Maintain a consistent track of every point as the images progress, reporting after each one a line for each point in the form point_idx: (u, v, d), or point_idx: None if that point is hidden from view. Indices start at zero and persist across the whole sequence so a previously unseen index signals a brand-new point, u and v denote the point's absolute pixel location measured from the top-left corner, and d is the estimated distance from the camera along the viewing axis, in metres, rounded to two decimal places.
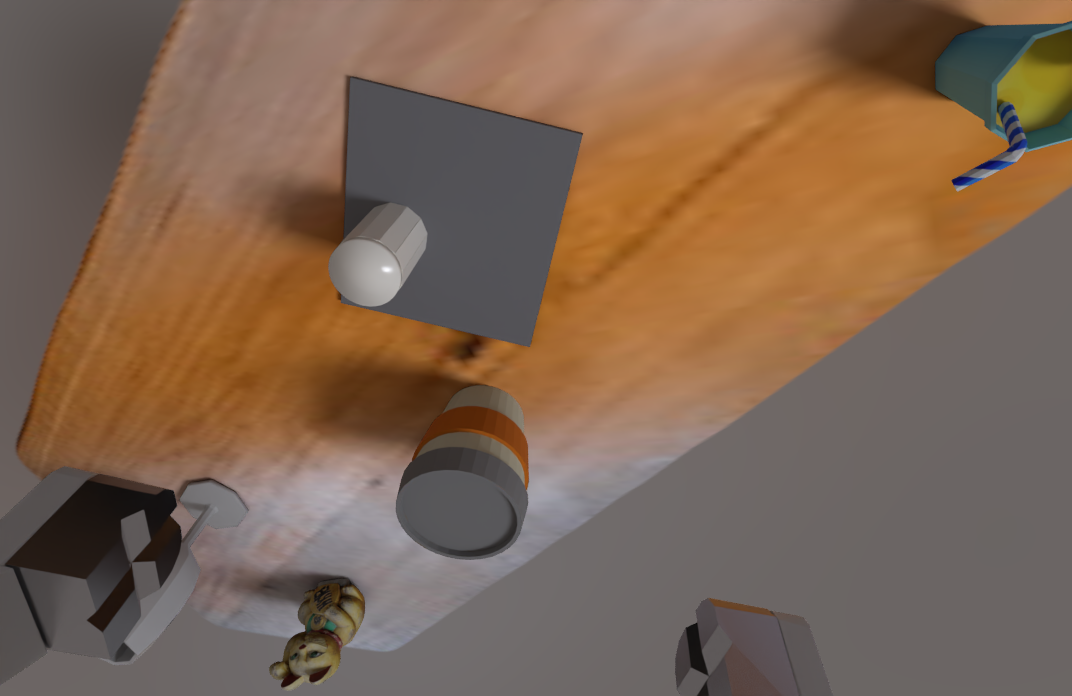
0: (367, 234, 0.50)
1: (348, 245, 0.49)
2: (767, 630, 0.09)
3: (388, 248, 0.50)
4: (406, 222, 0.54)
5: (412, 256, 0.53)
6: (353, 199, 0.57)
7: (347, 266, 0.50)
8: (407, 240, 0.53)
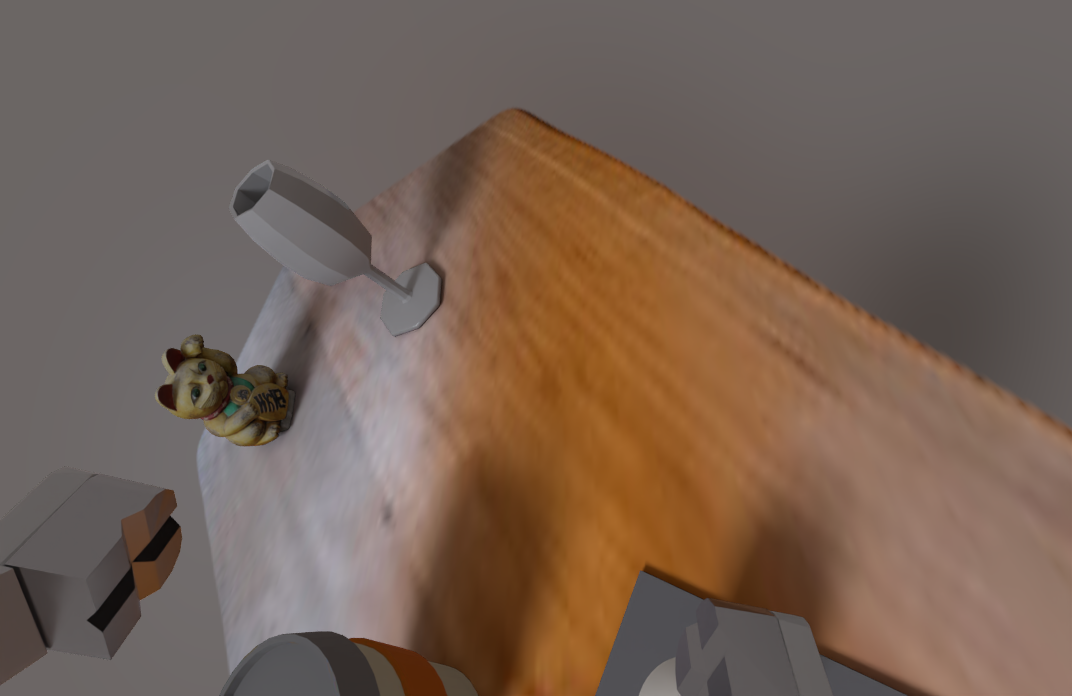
0: None
1: None
2: (767, 630, 0.09)
3: None
4: None
5: None
6: None
7: None
8: None
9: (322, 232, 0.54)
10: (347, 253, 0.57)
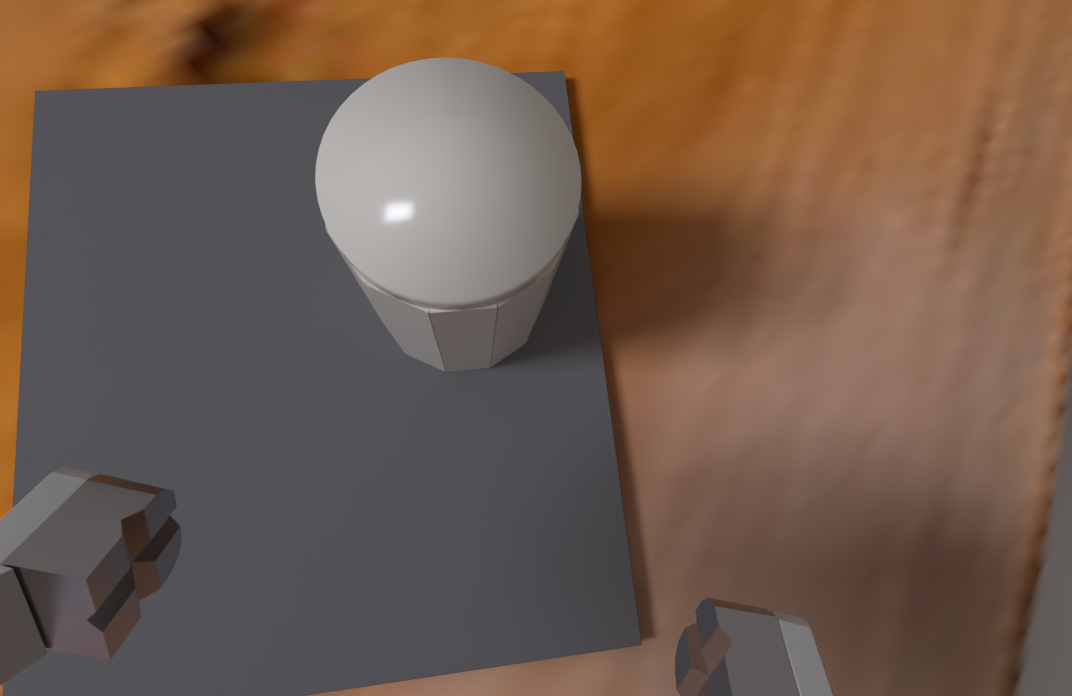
0: (478, 314, 0.15)
1: (523, 265, 0.14)
2: (767, 630, 0.09)
3: (389, 294, 0.14)
4: (417, 347, 0.19)
5: None
6: (580, 344, 0.23)
7: (513, 185, 0.14)
8: (380, 313, 0.17)
9: None
10: None
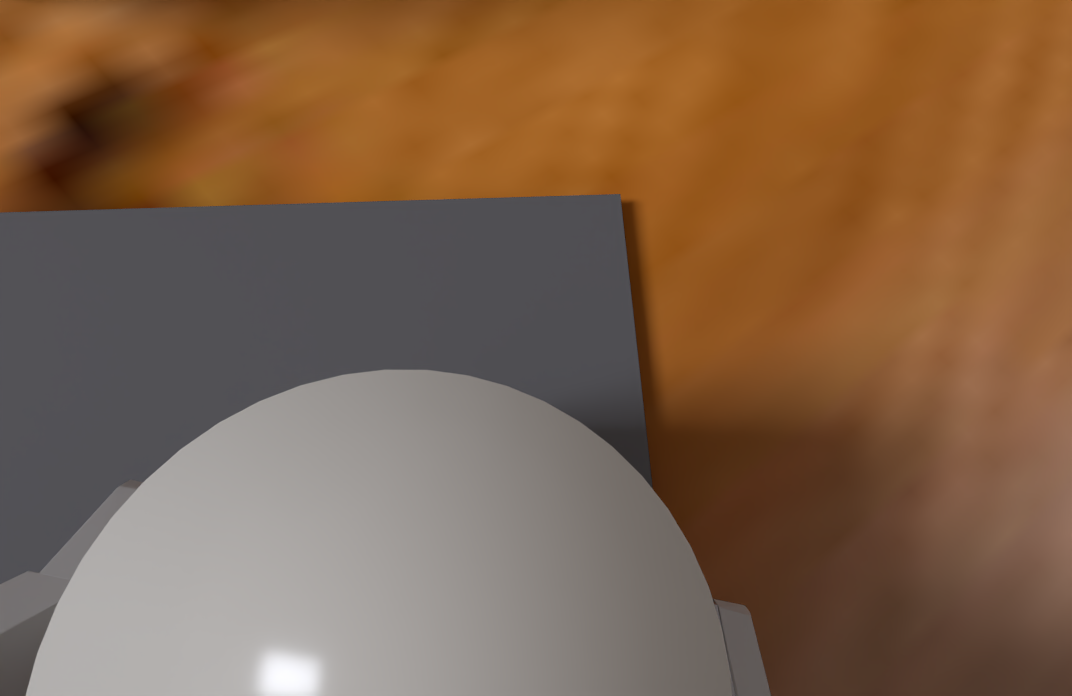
0: None
1: None
2: None
3: None
4: None
5: None
6: None
7: None
8: None
9: None
10: None
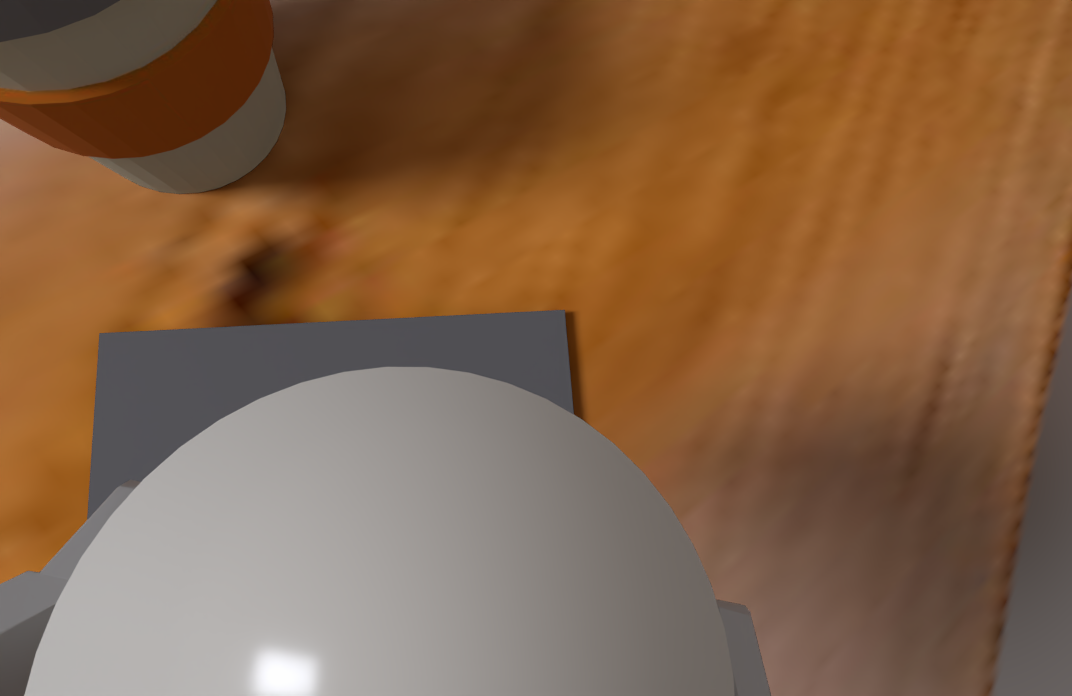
0: None
1: None
2: None
3: None
4: None
5: None
6: None
7: None
8: None
9: None
10: None
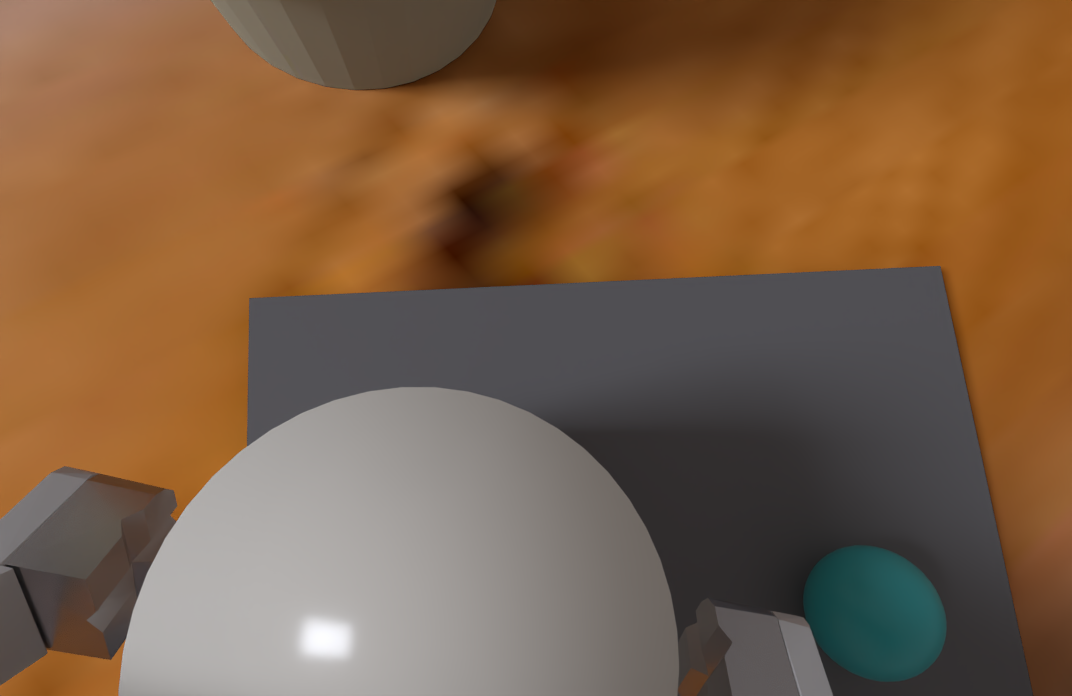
0: None
1: None
2: (767, 630, 0.09)
3: None
4: None
5: None
6: (1002, 679, 0.16)
7: (539, 681, 0.07)
8: None
9: None
10: None
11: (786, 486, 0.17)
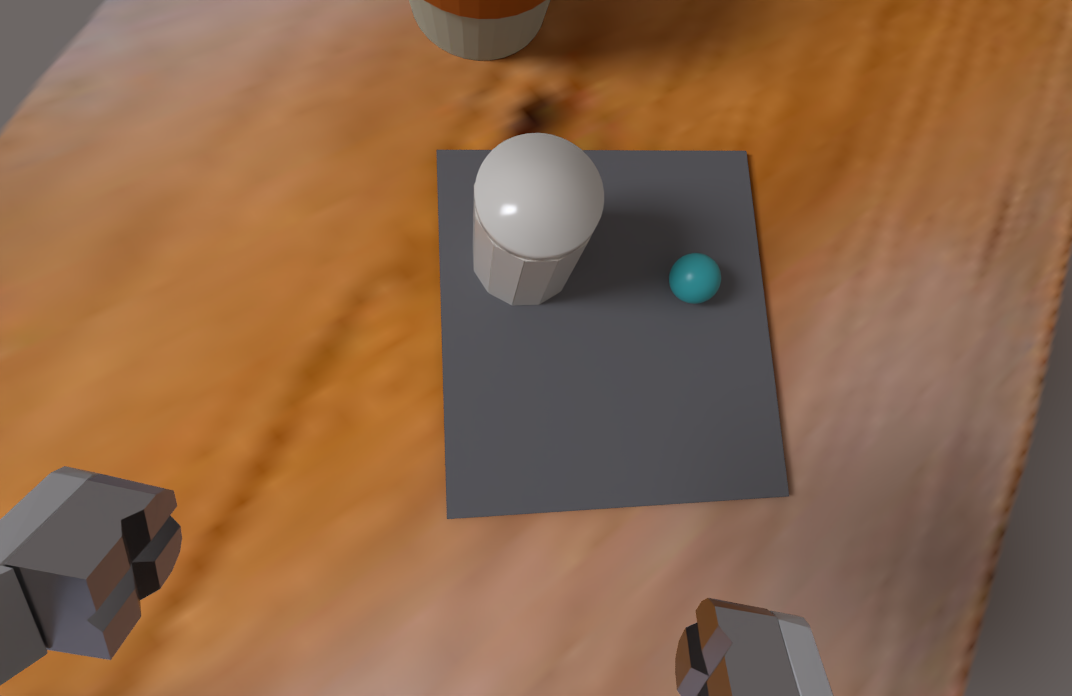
0: (547, 264, 0.29)
1: (573, 240, 0.28)
2: (767, 630, 0.09)
3: (506, 250, 0.28)
4: (501, 286, 0.34)
5: (474, 238, 0.31)
6: (755, 321, 0.38)
7: (570, 200, 0.28)
8: (488, 263, 0.31)
9: None
10: None
11: (667, 240, 0.38)
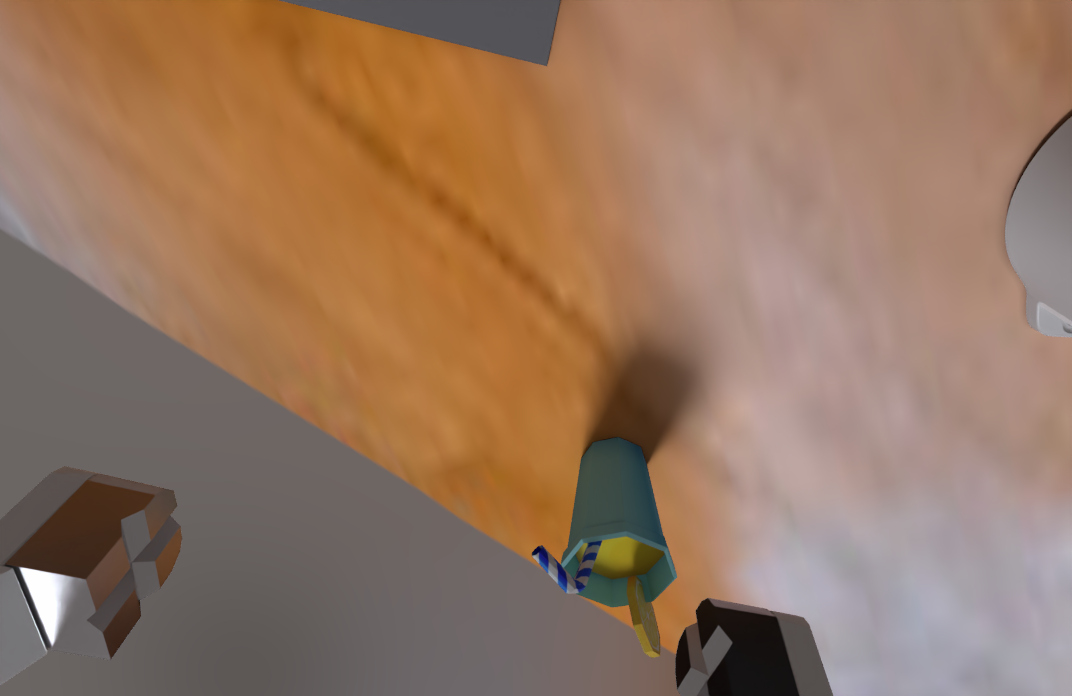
0: None
1: None
2: (767, 630, 0.09)
3: None
4: None
5: None
6: None
7: None
8: None
9: None
10: None
11: None
